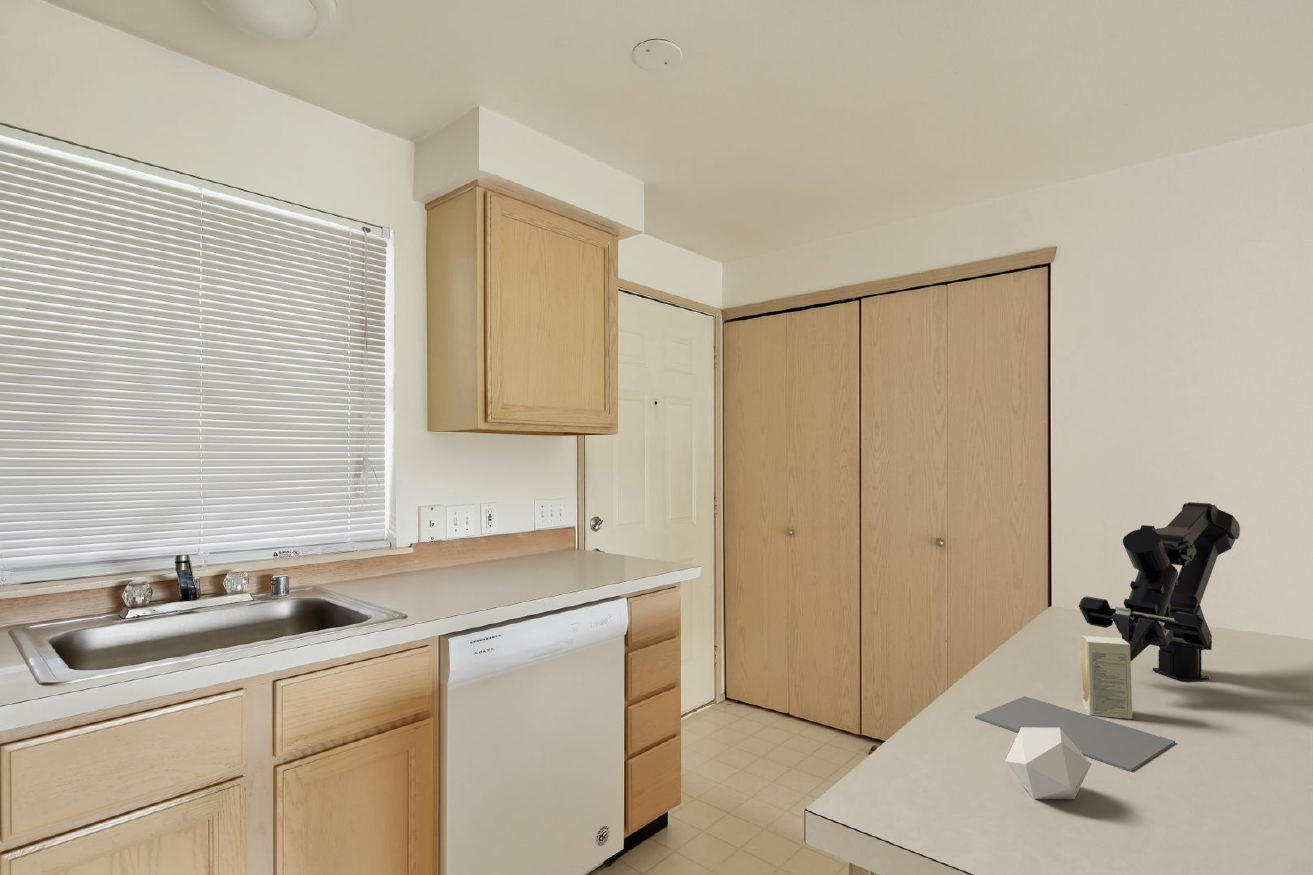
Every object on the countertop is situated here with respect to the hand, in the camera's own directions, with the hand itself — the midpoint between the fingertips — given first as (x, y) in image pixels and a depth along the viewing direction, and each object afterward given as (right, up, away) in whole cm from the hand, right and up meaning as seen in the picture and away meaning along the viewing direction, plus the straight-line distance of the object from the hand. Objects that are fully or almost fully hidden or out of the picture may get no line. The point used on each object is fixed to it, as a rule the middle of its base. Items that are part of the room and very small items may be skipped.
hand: (1127, 659), depth 118 cm
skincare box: (-7, -7, -5) cm, 12 cm away
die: (-32, -7, -32) cm, 46 cm away
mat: (-17, -7, -12) cm, 22 cm away
